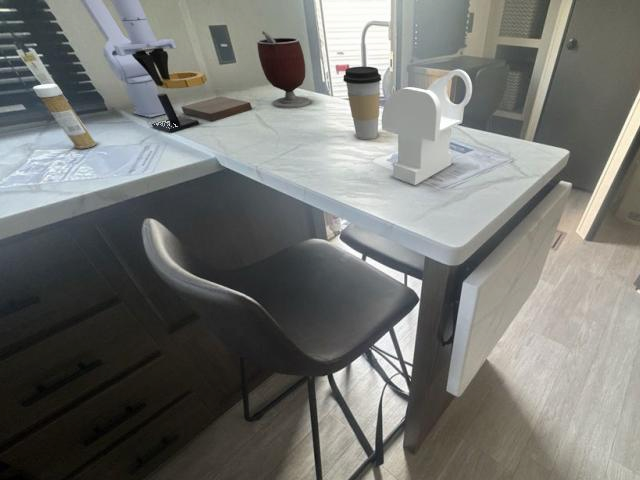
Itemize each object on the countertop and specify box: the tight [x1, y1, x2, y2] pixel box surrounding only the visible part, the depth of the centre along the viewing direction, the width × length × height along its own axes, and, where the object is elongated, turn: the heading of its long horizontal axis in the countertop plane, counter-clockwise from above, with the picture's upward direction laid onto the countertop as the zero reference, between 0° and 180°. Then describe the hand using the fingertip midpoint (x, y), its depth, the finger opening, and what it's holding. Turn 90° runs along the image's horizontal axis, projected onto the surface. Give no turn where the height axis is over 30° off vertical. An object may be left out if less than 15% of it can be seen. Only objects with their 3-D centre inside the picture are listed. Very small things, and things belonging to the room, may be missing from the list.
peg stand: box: [151, 93, 200, 134], centre depth 90 cm, size 9×9×8 cm
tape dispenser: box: [381, 68, 473, 186], centre depth 64 cm, size 14×13×18 cm
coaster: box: [180, 95, 253, 122], centre depth 103 cm, size 15×15×2 cm
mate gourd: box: [256, 30, 310, 109], centre depth 102 cm, size 16×14×20 cm
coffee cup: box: [342, 66, 382, 140], centre depth 81 cm, size 9×9×15 cm
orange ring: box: [156, 70, 208, 90], centre depth 91 cm, size 13×13×2 cm
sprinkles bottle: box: [32, 83, 97, 150], centre depth 77 cm, size 5×5×14 cm
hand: (163, 84), depth 88 cm, fingers closed on orange ring, 2 cm apart
